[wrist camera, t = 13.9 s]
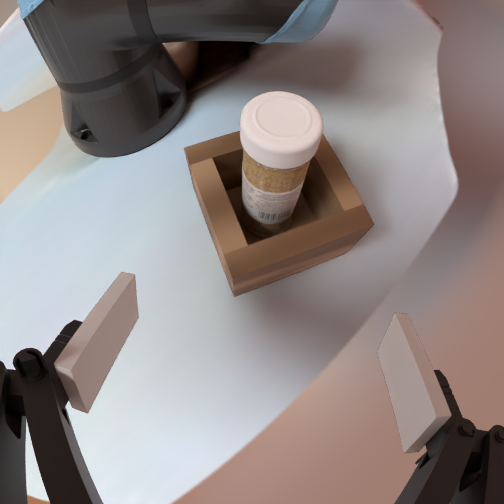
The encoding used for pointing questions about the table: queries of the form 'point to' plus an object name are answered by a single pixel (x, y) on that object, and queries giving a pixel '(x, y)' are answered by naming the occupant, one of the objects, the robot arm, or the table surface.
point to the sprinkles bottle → (276, 158)
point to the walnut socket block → (302, 224)
